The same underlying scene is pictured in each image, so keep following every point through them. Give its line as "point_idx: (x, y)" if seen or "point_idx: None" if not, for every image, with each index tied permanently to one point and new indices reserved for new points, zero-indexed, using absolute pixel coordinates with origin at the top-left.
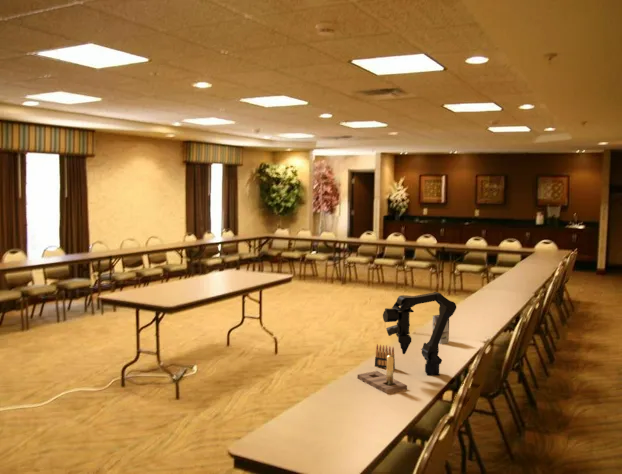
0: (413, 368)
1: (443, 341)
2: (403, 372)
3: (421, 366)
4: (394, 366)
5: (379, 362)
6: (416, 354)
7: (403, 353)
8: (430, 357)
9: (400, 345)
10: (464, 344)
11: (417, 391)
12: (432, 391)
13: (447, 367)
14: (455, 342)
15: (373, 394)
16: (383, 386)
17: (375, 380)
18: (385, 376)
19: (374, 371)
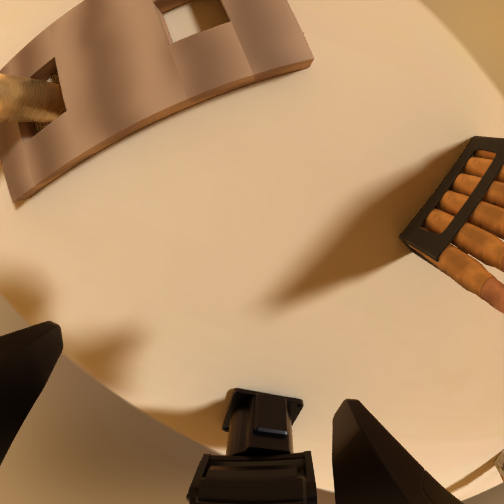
0: (371, 359)
1: (501, 458)
2: (321, 282)
3: (382, 398)
4: (418, 254)
5: (478, 161)
6: (499, 395)
7: (44, 332)
8: (194, 483)
9: (364, 434)
10: (463, 486)
11: (14, 242)
12: (24, 308)
13: (325, 466)
14: (485, 472)
15: (13, 29)
16: (16, 65)
17: (99, 16)
18: (159, 88)
19: (298, 34)
